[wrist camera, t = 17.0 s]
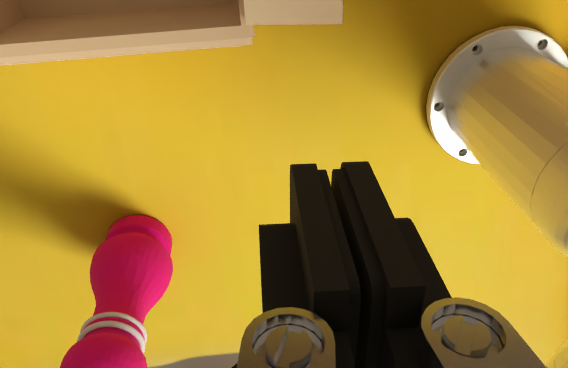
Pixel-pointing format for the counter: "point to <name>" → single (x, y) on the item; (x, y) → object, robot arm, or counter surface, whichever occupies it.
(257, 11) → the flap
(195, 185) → the counter surface
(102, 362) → the pepper mill
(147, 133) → the counter surface
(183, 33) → the carton
